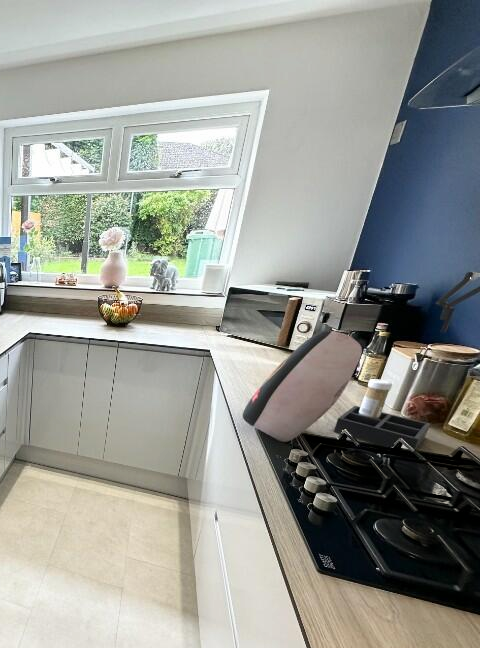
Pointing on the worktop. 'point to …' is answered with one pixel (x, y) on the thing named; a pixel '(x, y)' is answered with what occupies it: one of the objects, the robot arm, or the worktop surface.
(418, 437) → the grid
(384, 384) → the sprinkles bottle
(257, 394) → the pinkish grey rounded block
